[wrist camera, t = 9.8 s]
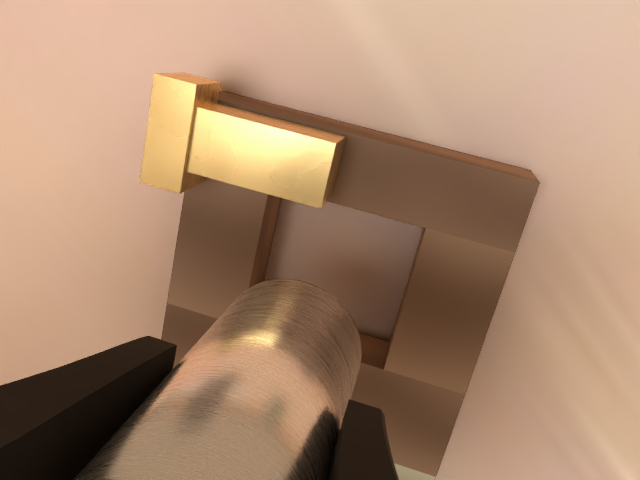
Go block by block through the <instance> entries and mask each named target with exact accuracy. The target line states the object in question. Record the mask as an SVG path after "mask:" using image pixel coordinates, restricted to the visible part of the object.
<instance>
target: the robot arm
mask: <svg viewBox="0 0 640 480" xmlns="http://www.w3.org/2000/svg"><path fill="white" fill-rule="evenodd" d="M176 348H177V345H176V344H173V343H169V342H166V341H163V340H160V339H157V338H154V337H150V336H146V337H142V338H139V339H136V340H133V341H130V342H127V343H124V344H122V345H119V346H116V347H114V348H111V349H108V350H105V351H103V352H100V353H97V354H95V355H92V356H89V357H86V358H84V359H81V360H78V361H75V362H73V363H70V364H67V365H64V366H61V367H59V368H56V369H52V370H49V371H46V372H43V373H40V374H36V375H33V376H30V377H27V378H24V379H21V380H17V381H14V382H11V383H8V384H5V385H1V386H0V480H74V479H75V478H76V476H77V475H78V474H79V473H80V472H81V471H82V470H83V469H84V468H85V466H86V465H87V464H88V463H89V462H90V461H91V460H92V459H93V458H94V456H95V455H96V454H97V453H98V452H99V451H100V450H101V449H102V447H103V446H104V445H105V444H106V443H107V442H108V441H109V440H110V439H111V437H112V436H113V435H114V434H115V433H116V432H117V431H118V430H119V429H120V427H121V426H122V425H123V424H124V423H125V422H126V421H127V420H128V419H129V417H130V416H131V415H132V414H133V413H134V412H135V411H136V410H137V409H138V407H139V406H140V405H141V404H142V403H143V402H144V401H145V400H146V398H147V397H148V396H149V395H150V394H151V393H152V392H153V391H154V390H155V388H156V387H157V386H158V385H159V384H160V383H161V382H162V381H163V380H164V378H165V377H166V376H167V375H168V374H169V373H170V372H171V371H172V370H173V366H174V360H175V354H176ZM327 480H399V478H398V475H397V472H396V468H395V465H394V461H393V458H392V454H391V449H390V445H389V441H388V436H387V430H386V424H385V416H384V414H383V412H382V410H381V409H379V408H376V407H373V406H370V405H366V404H363V403H360V402H357V401H354V400H351V399H349V401H348V404H347V408H346V411H345V414H344V418H343V421H342V425H341V428H340V432H339V435H338V439H337V442H336V446H335V450H334V453H333V457H332V460H331V464H330V468H329V473H328V478H327Z"/></svg>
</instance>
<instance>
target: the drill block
mask: <svg viewBox="0 0 640 480" xmlns="http://www.w3.org/2000/svg"><path fill="white" fill-rule="evenodd" d="M218 103H219V104H223V105H227V106H231V107H235V108H238V109H242V110H246V111H250V112H254V113H258V114H262V115H265V116H269V117H273V118H277V119H281V120H285V121H288V122H292V123H296V124H300V125H304V126H308V127H312V128H315V129H319V130H323V131H327V132H331V133H335V134H338V135H342V136H346V138H345V142H344V147H343V151H342V155H341V159H340V163H339V167H338V172H337V176H336V180H335V184H334V188H333V192H332V196H331V198H330V199H329V200H328V201H329V202H332V203H336V204H339V205H343V206H347V207H350V208H354V209H358V210H361V211H365V212H369V213H372V214H376V215H379V216H383V217H387V218H390V219H394V220H398V221H401V222H405V223H409V224H412V225H416V226H419V227H423V231H422V234H421V238H420V241H419V245H418V248H417V251H416V255H415V258H414V262H413V265H412V268H411V272H410V275H409V278H408V282H407V285H406V289H405V292H404V295H403V299H402V302H401V305H400V309H399V312H398V316H397V319H396V322H395V326H394V329H393V332H392V336H391V339H390V342H388V341H384V340H381V339H378V338H374V337H371V336H368V335H364V334H361V333H359V336H360V341H361V349H362V355H361V364H360V369H359V372H358V376H357V379H356V383H355V386H354V390H353V393H352V397H351V400H354V401H357V402H360V403H363V404H366V405H370V406H373V407H376V408H379V409H381V410H382V412H383V414H384V416H385V424H386V430H387V436H388V441H389V445H390V449H391V454H392V458H393V461H394V465H395V468H396V472H397V475H398V478H399V480H435V478H436V475H437V473H438V470H439V467H440V464H441V461H442V458H443V456H444V453H445V450H446V447H447V444H448V441H449V439H450V436H451V433H452V430H453V427H454V424H455V422H456V419H457V416H458V413H459V410H460V407H461V405H462V402H463V399H464V396H465V393H466V390H467V388H468V385H469V382H470V379H471V376H472V373H473V371H474V368H475V365H476V362H477V359H478V356H479V354H480V351H481V348H482V345H483V342H484V339H485V337H486V334H487V331H488V328H489V325H490V322H491V320H492V317H493V314H494V311H495V308H496V305H497V303H498V300H499V297H500V294H501V291H502V288H503V286H504V283H505V280H506V277H507V274H508V271H509V269H510V266H511V263H512V260H513V257H514V254H515V252H516V249H517V246H518V243H519V240H520V237H521V235H522V232H523V229H524V226H525V223H526V220H527V218H528V215H529V212H530V209H531V206H532V203H533V201H534V198H535V195H536V192H537V189H538V186H539V184H540V182H539V181H538V179H537V178H536V177H535V176H534V174H533V173H532V172H531V170H527V169H523V168H520V167H516V166H512V165H508V164H504V163H500V162H496V161H492V160H488V159H485V158H481V157H477V156H473V155H469V154H465V153H461V152H457V151H453V150H450V149H446V148H442V147H438V146H434V145H430V144H426V143H422V142H418V141H415V140H411V139H407V138H403V137H399V136H395V135H391V134H387V133H384V132H380V131H376V130H372V129H368V128H364V127H360V126H356V125H352V124H349V123H345V122H341V121H337V120H333V119H329V118H325V117H321V116H317V115H314V114H310V113H306V112H302V111H298V110H294V109H290V108H286V107H282V106H279V105H275V104H271V103H267V102H263V101H259V100H255V99H251V98H247V97H244V96H240V95H236V94H232V93H228V92H224V91H223V92H219V98H218ZM280 202H281V198H280V197H276V196H273V195H269V194H266V193H262V192H258V191H255V190H251V189H248V188H244V187H240V186H237V185H233V184H229V183H226V182H222V181H219V180H215V179H211V178H208V177H205V181H204V182H202V183H200V184H198V185H196V186H194V187H192V188H190V189H188V190H186V191H185V192H184V199H183V205H182V211H181V218H180V224H179V230H178V237H177V243H176V249H175V256H174V262H173V268H172V275H171V281H170V287H169V294H168V300H167V306H166V313H165V319H164V325H163V332H162V338H161V340H163V341H166V342H169V343H173V344H176V345H177V348H176V354H175V360H174V366H173V368H174V367H175V366H176V365H177V364H178V363H179V362H180V361H181V360H182V358H183V357H184V356H185V355H186V354H187V353H188V352H189V351H190V350H191V348H192V347H193V346H194V345H195V344H196V343H197V342H198V341H199V339H200V338H201V337H202V336H203V335H204V334H205V333H206V332H207V331H208V329H209V328H210V327H211V326H212V325H213V324H214V323H215V322H216V321H217V319H218V318H219V317H220V316H221V315H222V314H223V313H224V312H225V311H226V309H227V308H228V307H229V306H230V305H231V304H232V303H233V302H234V301H235V299H236V298H237V297H238V296H239V295H241V294H242V293H243V292H244V291H246V290H247V289H249V288H250V287H252V286H254V285H256V284H259V283H262V282H264V277H265V272H266V268H267V263H268V258H269V253H270V249H271V244H272V239H273V235H274V230H275V225H276V220H277V216H278V211H279V206H280Z"/></svg>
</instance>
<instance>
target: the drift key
mask: <svg viewBox="0 0 640 480" xmlns="http://www.w3.org/2000/svg"><path fill="white" fill-rule="evenodd" d="M220 86H221V82H218V81H214V80H210V79H206V78H202V77H198V76H194V75H190V74H186V73H158V74H154V80H153V87H152V95H151V102H150V110H149V118H148V125H147V133H146V140H145V148H144V155H143V163H142V170H141V178H140V182H141V183H144V184H148V185H151V186H155V187H159V188H162V189H166V190H169V191H173V192H176V193H182V192H184V191H186V190H188V189H190V188H192V187H194V186H196V185H198V184H200V183H202V182H204V181H205V177H208V178H211V179H215V180H219V181H222V182H226V183H229V184H233V185H237V186H240V187H244V188H248V189H251V190H255V191H258V192H262V193H266V194H269V195H273V196H276V197H280V198H284V199H287V200H291V201H294V202H298V203H302V204H305V205H309V206H313V207H316V208H320V209H321V208H322V207H323V206H324V204H325V203H326V202H327V201H328V200H329V199H330V198H331V196H332V192H333V188H334V184H335V180H336V176H337V172H338V167H339V163H340V159H341V155H342V151H343V147H344V142H345V138H346V136H342V135H338V134H335V133H331V132H327V131H323V130H319V129H315V128H312V127H308V126H304V125H300V124H296V123H292V122H288V121H285V120H281V119H277V118H273V117H269V116H265V115H262V114H258V113H254V112H250V111H246V110H242V109H238V108H235V107H231V106H227V105H223V104H219V103H218V98H219V92H220Z"/></svg>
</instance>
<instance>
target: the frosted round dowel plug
mask: <svg viewBox="0 0 640 480" xmlns="http://www.w3.org/2000/svg"><path fill="white" fill-rule="evenodd" d="M361 355H362V349H361V341H360V336H359V333H358V330H357V327H356V325H355V323H354V321H353V319H352V317H351V316H350V314H349V313H348V312H347V310H346V309H345V308H344V307H343V305H342V304H341V303H340V302H339V301H338V300H336V299H335V298H334V297H333V296H332V295H330V294H329V293H327V292H326V291H324V290H323V289H321V288H319V287H317V286H315V285H312V284H309V283H307V282H303V281H298V280H292V279H275V280H269V281H265V282H262V283H259V284H256V285H254V286H252V287H250V288H249V289H247V290H246V291H244V292H243V293H242V294H241V295H239V296H238V297H237V298H236V299H235V301H234V302H233V303H232V304H231V305H230V306H229V307H228V308H227V309H226V311H225V312H224V313H223V314H222V315H221V316H220V317H219V318H218V319H217V321H216V322H215V323H214V324H213V325H212V326H211V327H210V328H209V329H208V331H207V332H206V333H205V334H204V335H203V336H202V337H201V338H200V339H199V341H198V342H197V343H196V344H195V345H194V346H193V347H192V348H191V350H190V351H189V352H188V353H187V354H186V355H185V356H184V357H183V358H182V360H181V361H180V362H179V363H178V364H177V365H176V366H175V367H174V368H173V370H172V371H171V372H170V373H169V374H168V375H167V376H166V377H165V378H164V380H163V381H162V382H161V383H160V384H159V385H158V386H157V387H156V388H155V390H154V391H153V392H152V393H151V394H150V395H149V396H148V397H147V398H146V400H145V401H144V402H143V403H142V404H141V405H140V406H139V407H138V409H137V410H136V411H135V412H134V413H133V414H132V415H131V416H130V417H129V419H128V420H127V421H126V422H125V423H124V424H123V425H122V426H121V427H120V429H119V430H118V431H117V432H116V433H115V434H114V435H113V436H112V437H111V439H110V440H109V441H108V442H107V443H106V444H105V445H104V446H103V447H102V449H101V450H100V451H99V452H98V453H97V454H96V455H95V456H94V458H93V459H92V460H91V461H90V462H89V463H88V464H87V465H86V466H85V468H84V469H83V470H82V471H81V472H80V473H79V474H78V475H77V476H76V478H75V479H74V480H327V478H328V473H329V468H330V464H331V460H332V457H333V453H334V450H335V446H336V442H337V439H338V435H339V432H340V428H341V425H342V421H343V418H344V414H345V411H346V408H347V404H348V401H349V399H351V397H352V393H353V390H354V386H355V383H356V379H357V376H358V372H359V369H360V364H361Z"/></svg>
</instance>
